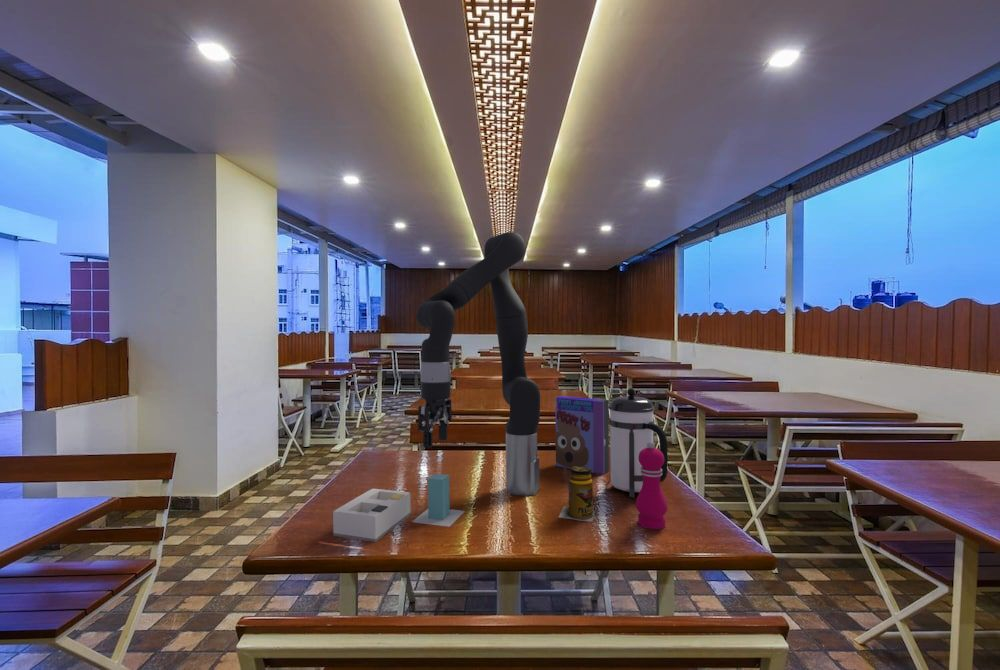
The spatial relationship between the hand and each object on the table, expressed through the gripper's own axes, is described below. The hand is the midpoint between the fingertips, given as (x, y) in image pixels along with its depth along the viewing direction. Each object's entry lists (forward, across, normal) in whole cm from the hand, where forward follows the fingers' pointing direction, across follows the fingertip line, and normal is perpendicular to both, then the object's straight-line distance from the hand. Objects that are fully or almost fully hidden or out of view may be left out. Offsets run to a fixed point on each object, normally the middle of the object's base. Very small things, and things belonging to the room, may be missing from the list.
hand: (435, 443), depth 117 cm
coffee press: (+18, +33, -48) cm, 61 cm away
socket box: (+19, -10, +12) cm, 24 cm away
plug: (+18, -1, -1) cm, 18 cm away
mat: (+18, -1, -1) cm, 19 cm away
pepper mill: (+18, +11, -52) cm, 56 cm away
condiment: (+19, +12, -34) cm, 41 cm away
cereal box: (+18, +52, -29) cm, 62 cm away
